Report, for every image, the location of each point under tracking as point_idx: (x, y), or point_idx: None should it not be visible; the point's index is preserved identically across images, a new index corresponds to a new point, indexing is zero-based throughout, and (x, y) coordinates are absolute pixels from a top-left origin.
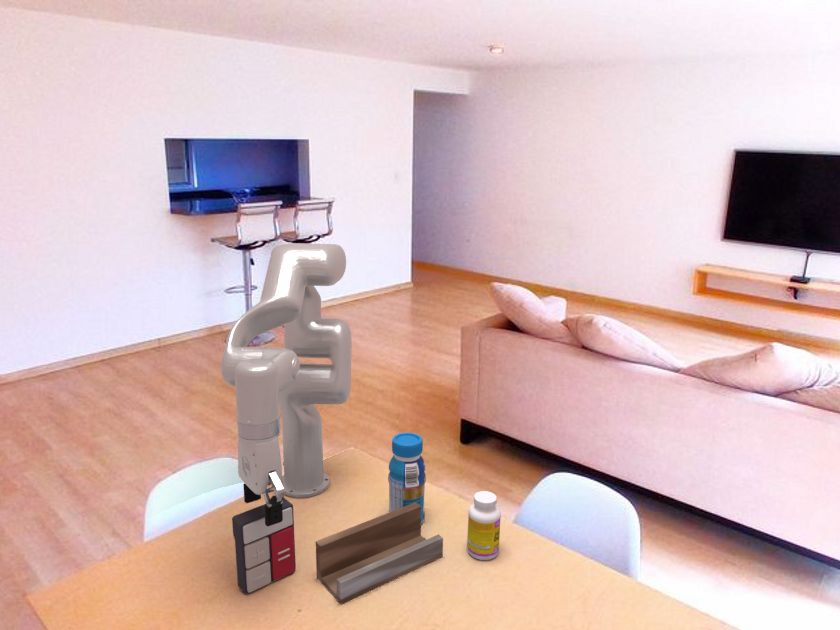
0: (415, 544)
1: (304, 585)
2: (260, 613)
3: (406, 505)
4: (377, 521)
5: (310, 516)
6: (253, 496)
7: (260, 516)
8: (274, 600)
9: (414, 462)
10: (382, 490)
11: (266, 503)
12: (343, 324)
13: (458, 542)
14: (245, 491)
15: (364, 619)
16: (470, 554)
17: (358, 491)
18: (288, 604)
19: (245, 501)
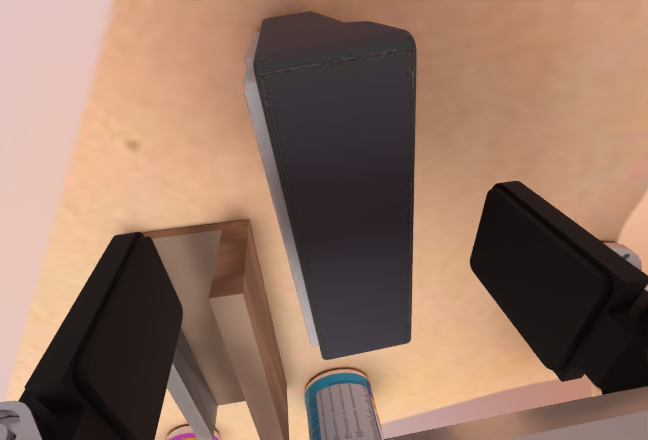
0: (198, 410)
1: (230, 186)
2: (153, 37)
3: (314, 433)
4: (258, 411)
5: (466, 267)
6: (497, 251)
7: (292, 222)
8: (200, 97)
9: None
10: (439, 378)
11: (20, 435)
12: None
13: (233, 420)
14: (561, 241)
15: (55, 259)
16: (186, 428)
17: (468, 352)
18: (167, 127)
19: (505, 188)
